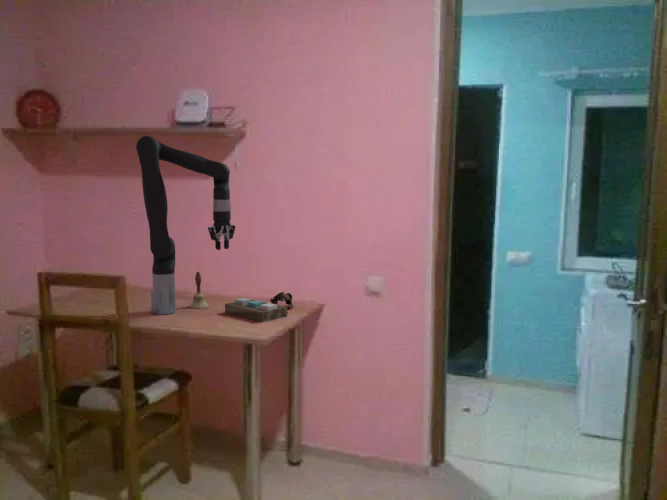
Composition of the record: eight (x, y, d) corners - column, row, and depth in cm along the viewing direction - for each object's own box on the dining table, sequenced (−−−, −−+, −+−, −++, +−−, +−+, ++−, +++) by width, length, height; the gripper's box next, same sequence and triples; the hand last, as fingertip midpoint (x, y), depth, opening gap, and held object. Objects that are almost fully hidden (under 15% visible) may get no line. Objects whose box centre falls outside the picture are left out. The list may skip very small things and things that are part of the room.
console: (263, 322, 251) (263, 312, 250) (225, 312, 266) (224, 303, 265) (287, 316, 261) (287, 307, 261) (249, 307, 276) (249, 299, 276)
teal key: (255, 308, 260) (255, 303, 259) (247, 307, 263) (247, 302, 263) (264, 307, 263) (264, 302, 263) (256, 305, 267) (256, 300, 266)
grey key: (242, 306, 265) (242, 301, 264) (235, 304, 268) (235, 299, 268) (251, 304, 268) (251, 299, 268) (243, 302, 272) (243, 297, 271)
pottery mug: (289, 312, 271) (279, 296, 270) (273, 319, 276) (264, 303, 275) (301, 300, 281) (292, 285, 280) (286, 307, 286) (277, 292, 285)
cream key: (268, 311, 254) (268, 306, 254) (260, 310, 258) (260, 304, 257) (277, 309, 258) (277, 304, 258) (268, 308, 261) (268, 303, 261)
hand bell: (193, 309, 272) (192, 274, 270) (187, 306, 279) (186, 271, 277) (211, 307, 276) (210, 272, 274) (204, 304, 283) (204, 270, 281)
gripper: (228, 208, 273) (229, 247, 276) (203, 210, 263) (203, 250, 265) (240, 209, 269) (240, 248, 271) (214, 211, 258) (214, 251, 260)
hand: (222, 249), depth 268 cm, fingers open, 3 cm apart
